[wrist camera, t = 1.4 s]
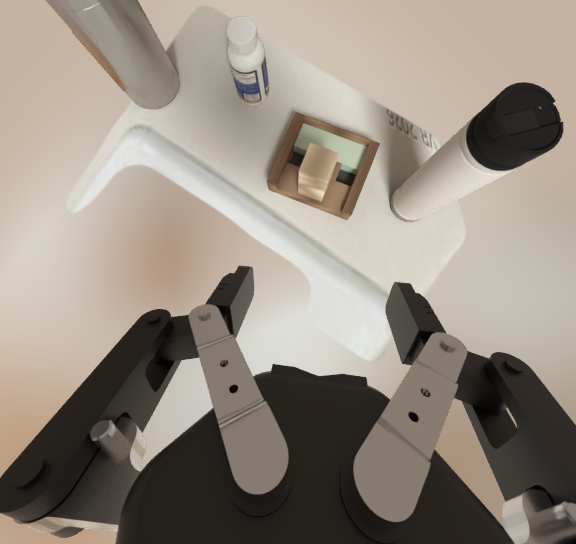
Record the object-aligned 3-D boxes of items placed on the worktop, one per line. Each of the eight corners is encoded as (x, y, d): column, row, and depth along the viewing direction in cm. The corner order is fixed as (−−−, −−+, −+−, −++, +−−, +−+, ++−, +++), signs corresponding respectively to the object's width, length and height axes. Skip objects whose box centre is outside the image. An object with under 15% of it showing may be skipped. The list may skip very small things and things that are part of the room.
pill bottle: (253, 71, 40) (240, 2, 30) (275, 91, 39) (270, 27, 30) (232, 93, 40) (212, 30, 30) (254, 113, 39) (241, 56, 30)
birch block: (297, 192, 36) (298, 170, 29) (307, 170, 36) (310, 142, 29) (321, 202, 36) (328, 181, 29) (330, 178, 36) (339, 153, 29)
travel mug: (382, 191, 38) (482, 86, 18) (421, 180, 38) (564, 64, 18) (393, 227, 38) (507, 160, 18) (432, 216, 37) (591, 138, 18)
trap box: (269, 189, 38) (266, 181, 35) (295, 125, 39) (295, 112, 36) (347, 220, 38) (351, 214, 35) (373, 154, 38) (379, 143, 35)
